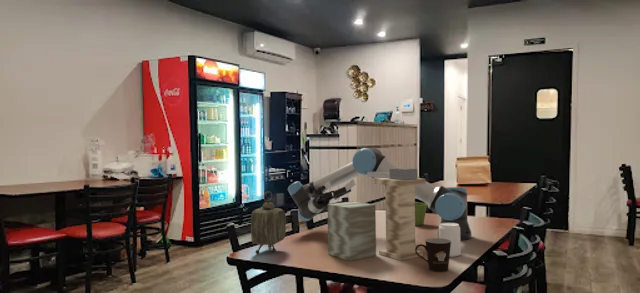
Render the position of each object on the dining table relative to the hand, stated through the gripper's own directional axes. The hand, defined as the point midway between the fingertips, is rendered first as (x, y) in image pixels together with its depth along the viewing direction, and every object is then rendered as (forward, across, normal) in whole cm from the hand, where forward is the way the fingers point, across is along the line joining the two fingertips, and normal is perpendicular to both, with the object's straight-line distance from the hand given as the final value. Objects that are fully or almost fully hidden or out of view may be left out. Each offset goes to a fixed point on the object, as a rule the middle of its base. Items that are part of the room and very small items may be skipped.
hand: (342, 182), depth 201 cm
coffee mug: (+32, +1, -50) cm, 59 cm away
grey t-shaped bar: (+24, -4, -10) cm, 26 cm away
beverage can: (+24, -19, -45) cm, 55 cm away
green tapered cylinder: (-23, -59, -18) cm, 66 cm away
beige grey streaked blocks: (+9, +3, -36) cm, 37 cm away
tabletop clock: (-18, +34, -20) cm, 44 cm away
